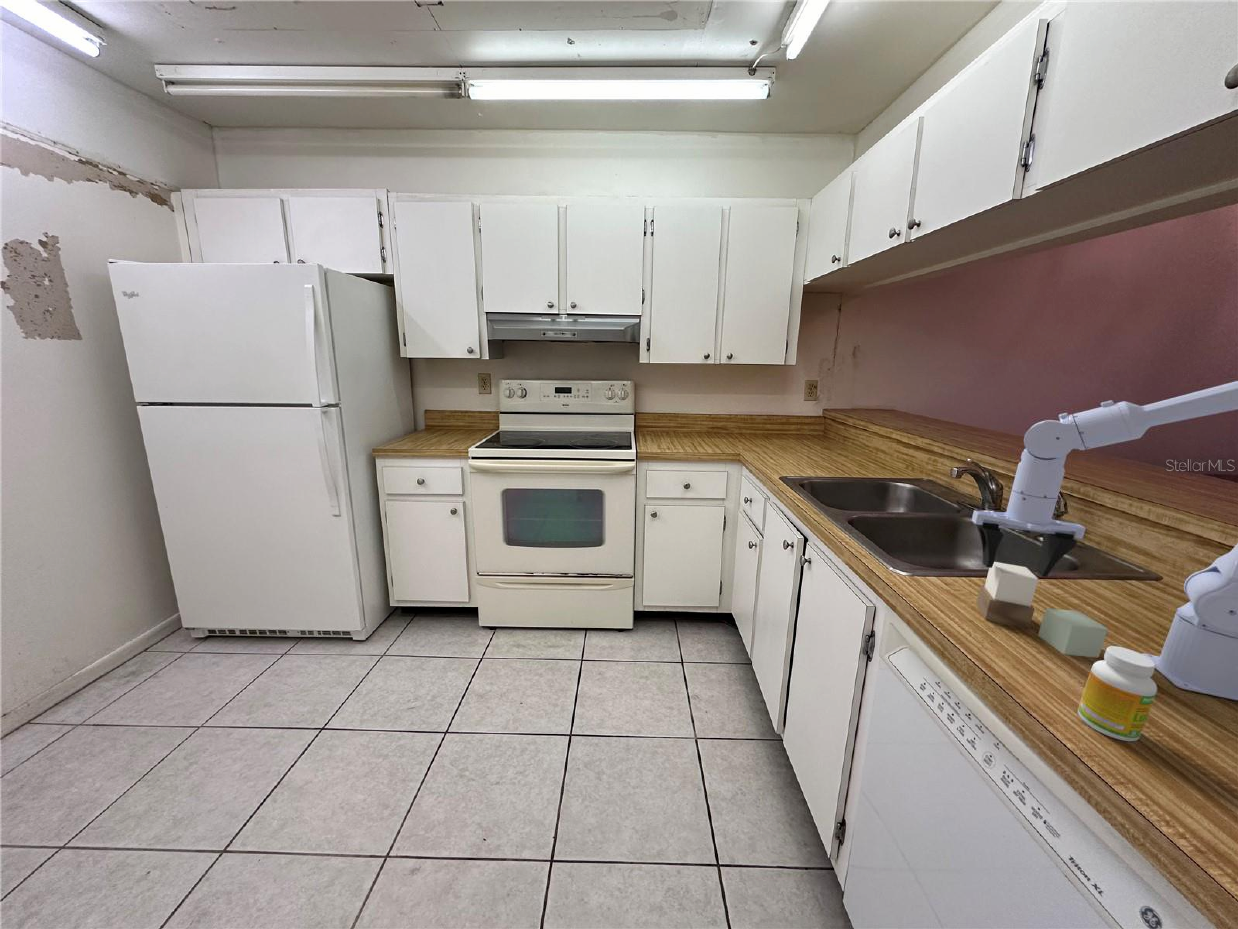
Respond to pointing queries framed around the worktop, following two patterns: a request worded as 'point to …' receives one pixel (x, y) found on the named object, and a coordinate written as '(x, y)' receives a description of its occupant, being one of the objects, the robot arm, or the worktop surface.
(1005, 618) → the walnut block
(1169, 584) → the worktop surface
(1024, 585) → the cream cube
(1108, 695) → the supplement bottle
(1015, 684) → the worktop surface
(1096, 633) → the sage cube
